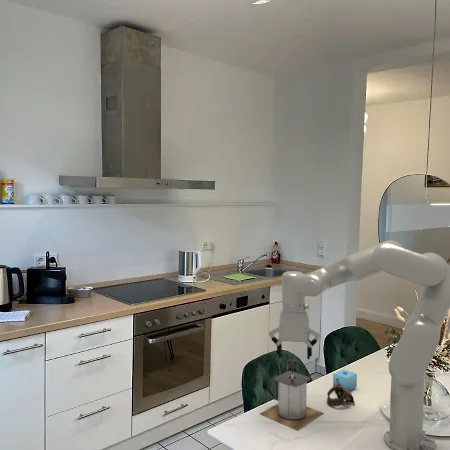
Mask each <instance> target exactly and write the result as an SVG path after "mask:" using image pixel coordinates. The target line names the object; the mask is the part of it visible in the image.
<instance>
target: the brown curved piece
mask: <svg viewBox="0 0 450 450" xmlns="http://www.w3.org/2000/svg"><path fill="white" fill-rule="evenodd" d="M343 390H344V391H343ZM333 392H334V393H335V394H336V397H337V398H335V399H334V398H331V397H330V396H331V394H332V393H333ZM326 395H327V398H326V403H327V405H328V406H330V407H334V408H335V407H339V406H344V407H345V406H346V403H350V404H352V405H353V406H356V403H355V399H354V396H353V395H352V392H351V391H348V390H347V389H345V388H344V387H342V386H341V385H340V384H337V385H336V386H335V387H333V386H332V387H331V388H330V389H329V390H328V391H327V394H326Z"/></svg>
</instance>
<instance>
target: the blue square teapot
mask: <svg viewBox="0 0 450 450" xmlns="http://www.w3.org/2000/svg"><path fill="white" fill-rule="evenodd" d="M332 376H333V377H332V387H335V386H336V385H337V384H340V385H341V386H342V387H344V388H345V389H347V390H348V391H349V392H351V391H354V389H355V388H357V384H358V383H357V381H358V379H357V378H358V373H355V372H353V371H350V370H348V369H341V370H338V371H336V372H334V373H333V374H332ZM343 391H344V390H343Z"/></svg>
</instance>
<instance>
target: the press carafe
mask: <svg viewBox="0 0 450 450" xmlns="http://www.w3.org/2000/svg"><path fill="white" fill-rule="evenodd" d="M309 381H311V377H309V376H306V375H304V374H301V373H298V372H296V371H295V372H294V377H293V379H291V371H288V370H287V371H285V372H284V373H281V374H279V375H276V376H274V377H273V400H274V401H277V404H278V415H279V416H280V417H281V418H283V419H285V420H290V421H298V420H302V419H304V418H305V417H306V407H307V392H308V391H307V382H309Z"/></svg>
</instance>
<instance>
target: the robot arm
mask: <svg viewBox="0 0 450 450" xmlns="http://www.w3.org/2000/svg"><path fill="white" fill-rule="evenodd" d="M383 272H384V273H387V274H389V275H392V276H395V277H397V278H400V279H403V280H404V281H405V280H406V281H408V282H411V283H414V284H416V285H420V286H423V287H422V290H421V293H420V295H419V298H418V300H417V302H416V305H415V307H414V309H413V311H412V313H411V315H410V316H409V317H408V319H407V321H406V323H405V325H404V328H403V331H402V333H401V336H400V338H399V340H398V342H397V343H396V345H395V347H394V348H393V350H392V351H391V355H390V357H389V360H388V373H389V374H390V376H391V378H390V398H389V399H390V404H389V429H388V431H386V432H384V435H383V440H384V443H385V444H386V445H387V446H388V447H389V448H390V449H392V450H428V449H430V450H437V449H438V448H437V447H438V445H437V443H436V440H435V439H432V438H430V437H428V436H426V435H427V432H426V430H424V429H423V428H424V403H425V383H426V382H425V381H426V380H425V379H426V371H427V369H428V367H429V365H430V363H431V362H432V358H433V357H434V355H435V353H436V351H437V348H438V346H439V343H440V340H441V328H442V327H443V324H444V322H445V319H446V317H447V315H448V312H449V310H450V265H449V264H448V262H447V261H446V260H445V258H443V257H442V256H440V254H437V253H435V252H425V253H424V252H423V253H422V254H421V253H419V252H415V251H412V250H410V249H406V248H404V247H403V245H402V244H401V243H400V242H398V241H396V240H392V239H391V240H390V239H389V240H385V241H382V242H380V243H378V244H377V243H376V244H375V245H373V246H370V247H368V248H365V249H362V250H359V251H358V252H356V253H352V254H350V255H348V256H346V257H345V256H344V258H343V259H341V260H338V261H336V262H333V263H330V264H328V265H326V266H323V267H321V268H318V269H316V270H314V271H312V272H309V273H307V274H304V273H303V272H301V271H300V270H299V271H298V270H292V271H291V270H290V271H289V270H287V271H285V272H283V273H282V275H281V287H282V288H281V293H282V294H281V295H282V296H281V297H282V299H281V300H282V301H281V302H282V305H281V306H282V309H281V310H280V314H279V321H278V327H276V328H274V329H272V330H269V331H268V336H269V337H270V339H271V341H272V342H273V343H274V345H275V346H276V355H278V358H279V359H280V358H282V355H283V349H282V348H283V345H282V343H283V342H290V343H291V342H292V343H296V342H297V343H305V344H306V347H307V348H306V351H307V352H306V353H307V354H306V356H307V360H310V359H311V357H312V356H313V353H312V352H313V351H312V350H313V347H314V346H315V345H316V343H318V340H319V338H320V337H321V333H319V332H317V331H315V330H313V329H311V328H310V321H309V315H308V311H307V310H310V305H309V304H306V301H305V300H306V299H305V296H308V297H313V298H314V297H318V296H320V295H321V294H323V293H324V292H326V291H327V290H328V289H332V288H334V287H336V286H339V285H342V284H345V283H348V282H359V281H363V280H366V279H368V278H370V277H373V276H375V275H378V274H381V273H383ZM275 334H278V338H277V337H276V336H275ZM310 335H312V336H314V338H313V339H312V340H311V339H310Z"/></svg>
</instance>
